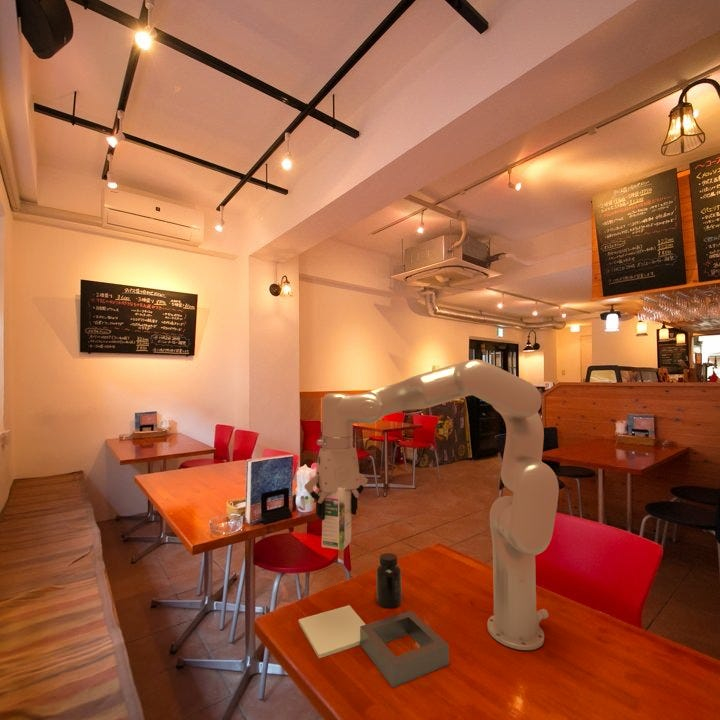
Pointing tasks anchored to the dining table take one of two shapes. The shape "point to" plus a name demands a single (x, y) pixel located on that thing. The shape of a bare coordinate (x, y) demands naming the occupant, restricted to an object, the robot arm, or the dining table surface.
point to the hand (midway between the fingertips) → (336, 515)
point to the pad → (332, 630)
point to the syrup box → (337, 519)
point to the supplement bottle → (388, 581)
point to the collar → (409, 663)
